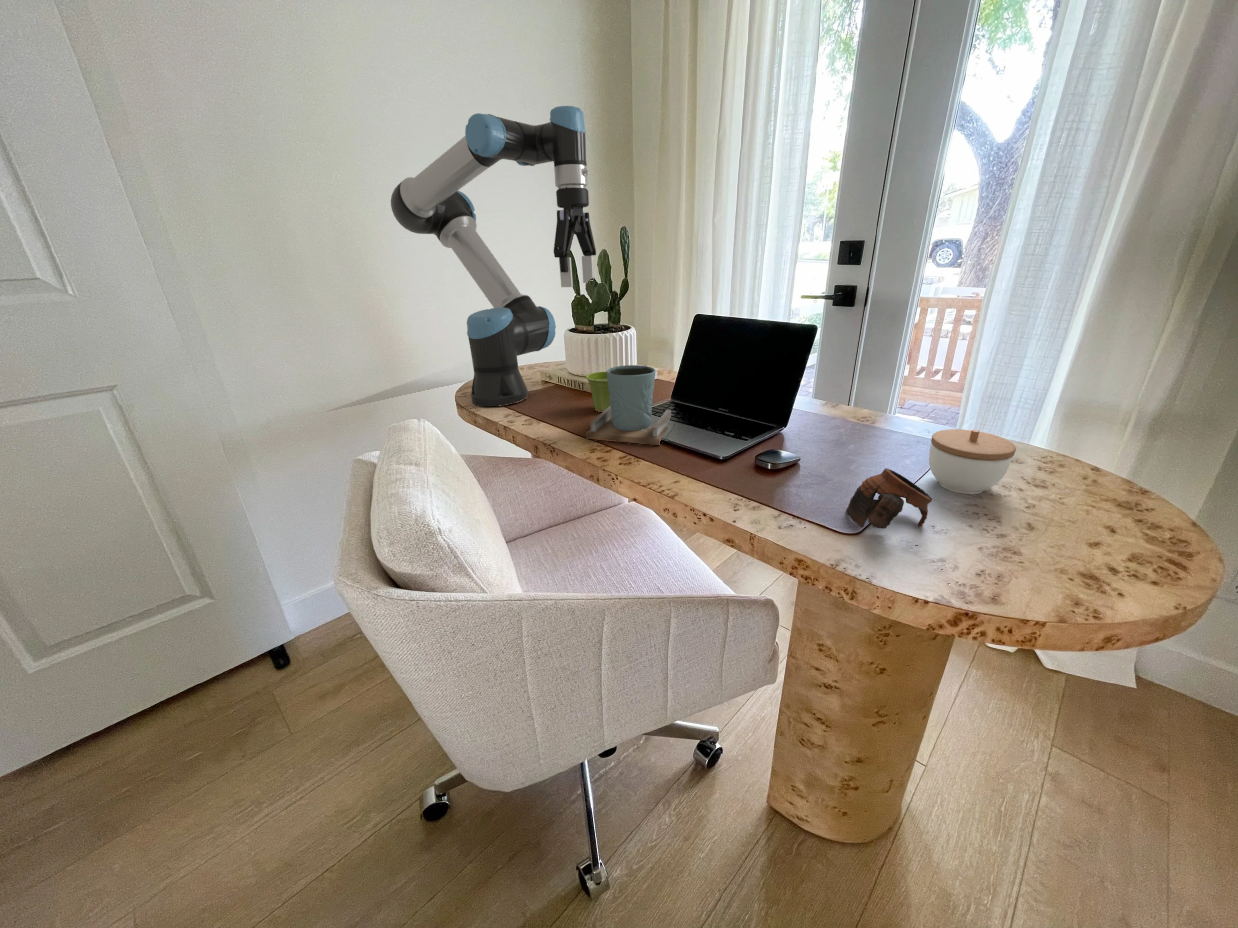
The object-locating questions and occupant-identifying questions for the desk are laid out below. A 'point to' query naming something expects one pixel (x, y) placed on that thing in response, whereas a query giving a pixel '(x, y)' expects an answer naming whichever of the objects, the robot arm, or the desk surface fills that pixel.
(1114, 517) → the desk surface
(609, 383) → the blue ceramic cup
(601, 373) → the plant pot
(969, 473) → the lidded jar
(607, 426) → the board
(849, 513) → the pottery mug
